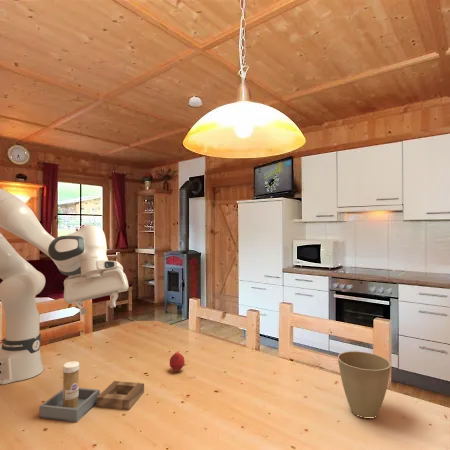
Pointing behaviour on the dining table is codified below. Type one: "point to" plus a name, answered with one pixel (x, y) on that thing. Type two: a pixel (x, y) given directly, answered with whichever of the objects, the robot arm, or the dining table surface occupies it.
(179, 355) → the onion
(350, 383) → the plant pot
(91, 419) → the dining table surface
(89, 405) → the tray
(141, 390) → the collar block
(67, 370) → the sprinkles bottle
